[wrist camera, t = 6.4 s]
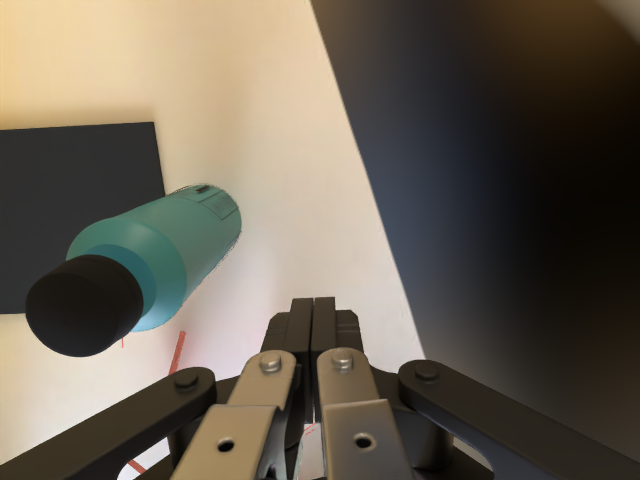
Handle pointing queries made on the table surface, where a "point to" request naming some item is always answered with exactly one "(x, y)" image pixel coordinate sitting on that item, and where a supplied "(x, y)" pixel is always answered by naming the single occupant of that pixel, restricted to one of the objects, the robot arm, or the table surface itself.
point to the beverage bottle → (132, 270)
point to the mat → (66, 193)
